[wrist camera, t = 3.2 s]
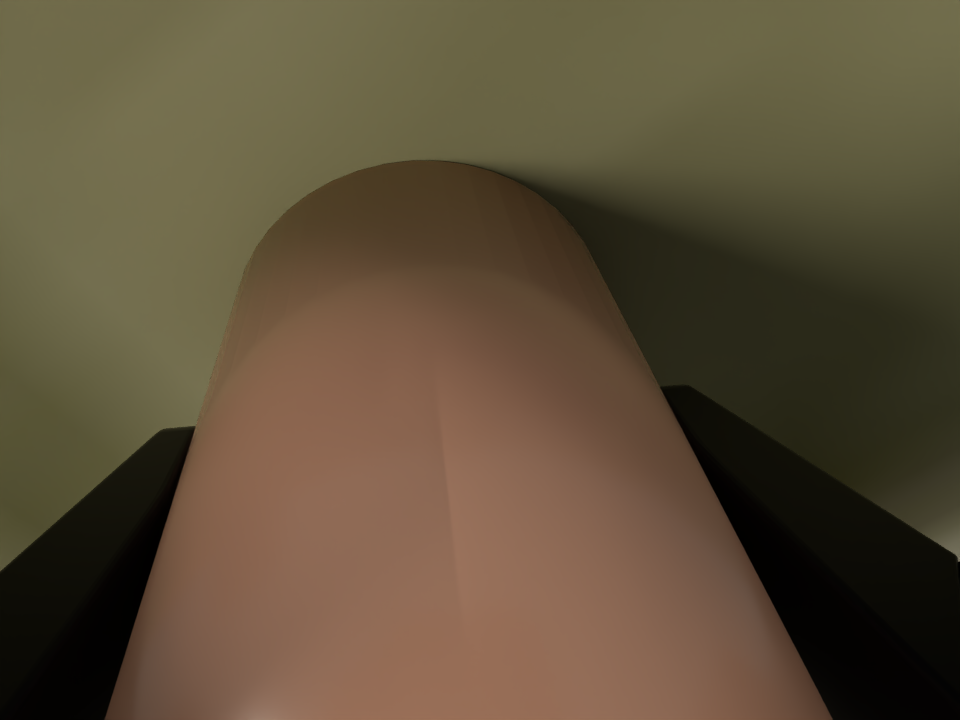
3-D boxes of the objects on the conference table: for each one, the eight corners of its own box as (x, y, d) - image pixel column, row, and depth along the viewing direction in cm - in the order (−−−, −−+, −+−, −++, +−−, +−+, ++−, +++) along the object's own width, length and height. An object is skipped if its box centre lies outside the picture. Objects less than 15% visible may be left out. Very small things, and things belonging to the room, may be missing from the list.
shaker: (619, 148, 9) (1422, 1158, 2) (592, 458, 12) (897, 1327, 5) (194, 173, 9) (-558, 1530, 2) (271, 488, 12) (109, 1480, 5)
